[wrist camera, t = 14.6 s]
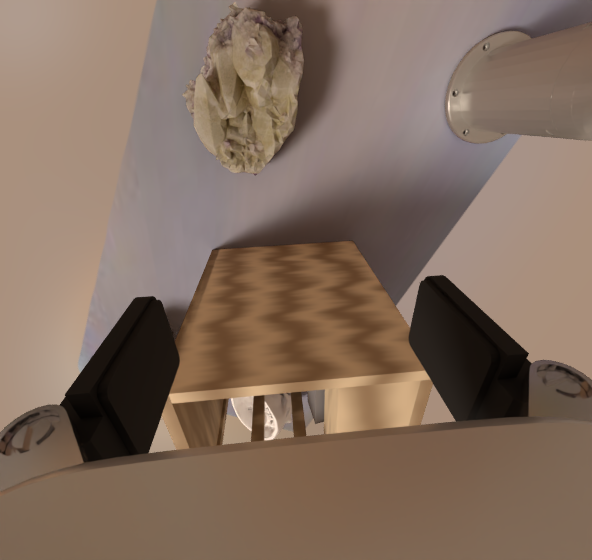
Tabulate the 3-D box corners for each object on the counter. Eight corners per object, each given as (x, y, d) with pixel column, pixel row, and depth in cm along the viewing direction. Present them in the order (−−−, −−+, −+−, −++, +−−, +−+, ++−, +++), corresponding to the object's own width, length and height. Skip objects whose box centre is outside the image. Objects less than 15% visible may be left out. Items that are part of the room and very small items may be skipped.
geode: (212, 150, 45) (308, 150, 44) (194, 185, 39) (303, 186, 38) (170, 1, 32) (305, -7, 30) (133, 21, 26) (298, 12, 25)
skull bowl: (294, 415, 69) (269, 454, 59) (250, 378, 72) (218, 409, 62) (314, 387, 65) (291, 425, 54) (266, 349, 68) (235, 378, 57)
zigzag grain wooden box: (352, 240, 49) (437, 369, 24) (346, 326, 58) (403, 480, 34) (212, 249, 48) (152, 395, 23) (229, 335, 57) (199, 503, 32)
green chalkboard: (365, 326, 32) (315, 336, 31) (355, 413, 40) (315, 424, 39) (313, 255, 48) (279, 260, 47) (313, 327, 56) (284, 333, 55)
